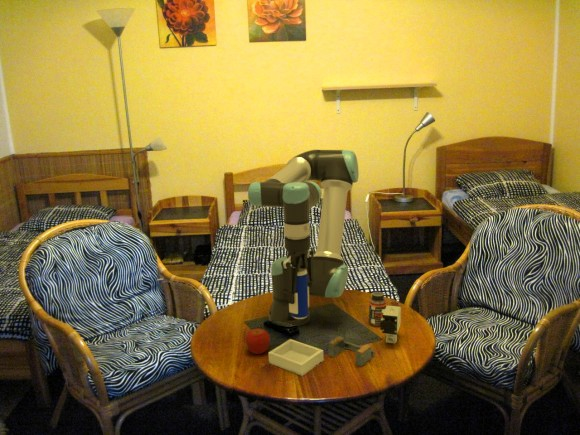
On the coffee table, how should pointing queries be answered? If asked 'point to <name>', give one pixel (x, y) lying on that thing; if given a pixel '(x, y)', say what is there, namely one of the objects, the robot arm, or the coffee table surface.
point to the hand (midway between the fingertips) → (299, 309)
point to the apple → (257, 340)
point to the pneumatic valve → (391, 322)
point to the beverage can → (302, 294)
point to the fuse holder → (362, 352)
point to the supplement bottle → (376, 308)
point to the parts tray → (296, 357)
